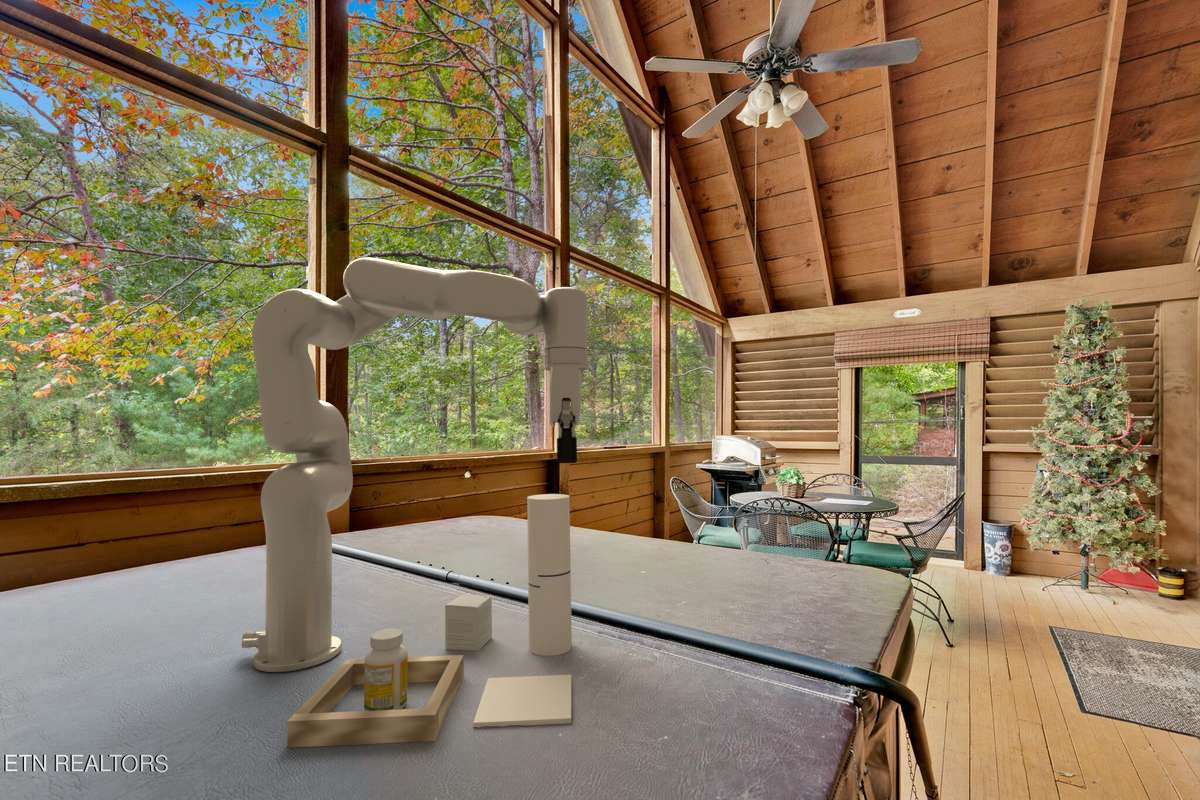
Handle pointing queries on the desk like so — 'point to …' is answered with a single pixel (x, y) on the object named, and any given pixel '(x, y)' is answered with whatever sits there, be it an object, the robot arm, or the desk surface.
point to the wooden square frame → (377, 726)
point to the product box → (468, 622)
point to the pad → (525, 701)
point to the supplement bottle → (386, 671)
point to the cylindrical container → (549, 574)
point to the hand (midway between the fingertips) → (567, 461)
